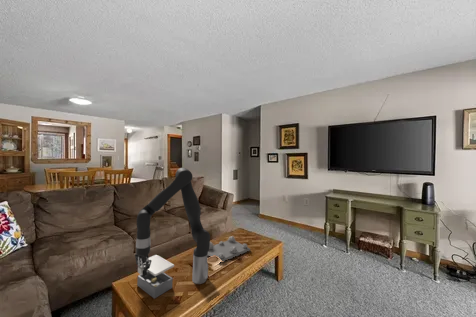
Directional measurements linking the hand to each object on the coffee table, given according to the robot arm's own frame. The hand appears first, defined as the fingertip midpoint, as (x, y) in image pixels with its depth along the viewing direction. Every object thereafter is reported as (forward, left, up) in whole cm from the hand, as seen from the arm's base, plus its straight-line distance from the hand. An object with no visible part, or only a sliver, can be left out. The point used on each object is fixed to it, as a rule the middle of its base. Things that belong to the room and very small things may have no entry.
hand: (142, 274), depth 117 cm
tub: (-8, 0, -12) cm, 14 cm away
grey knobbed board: (-71, +6, -12) cm, 73 cm away
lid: (-6, 0, 0) cm, 6 cm away
